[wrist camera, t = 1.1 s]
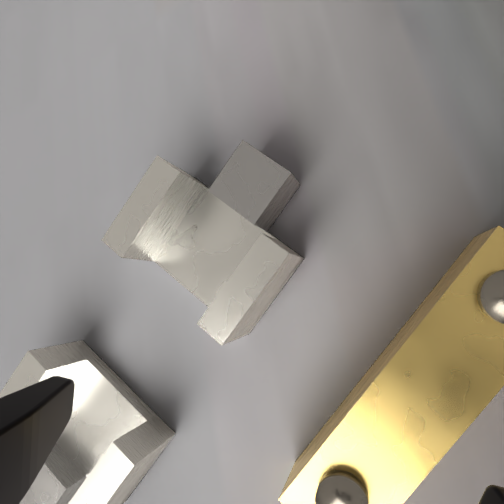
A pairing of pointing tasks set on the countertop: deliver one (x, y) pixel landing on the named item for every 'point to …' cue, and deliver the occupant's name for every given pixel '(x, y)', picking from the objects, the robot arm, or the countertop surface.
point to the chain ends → (193, 279)
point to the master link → (414, 391)
